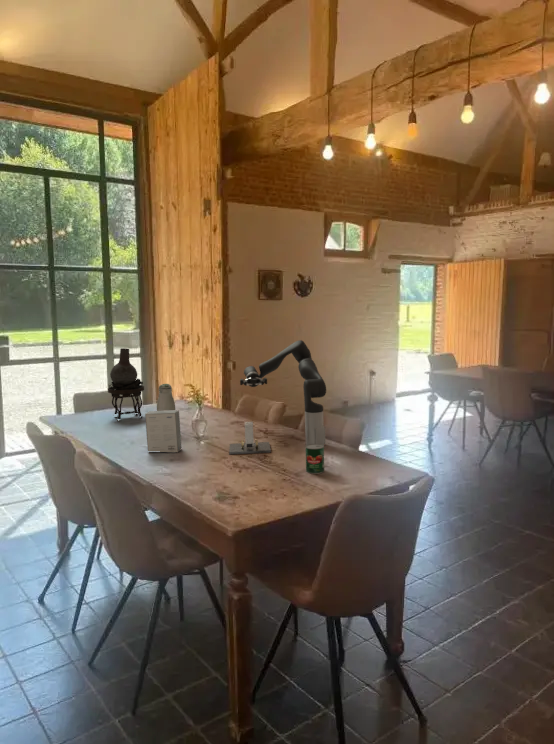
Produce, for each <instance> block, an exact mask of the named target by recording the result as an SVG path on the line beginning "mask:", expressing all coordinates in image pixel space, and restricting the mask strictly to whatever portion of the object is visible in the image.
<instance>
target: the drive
mask: <svg viewBox="0 0 554 744" xmlns="http://www.w3.org/2000/svg"><path fill="white" fill-rule="evenodd" d="M254 440H255V438H254V421H244V441H245V442H244V443H245V446H246V449H248V448H254V443H255V441H254Z"/></svg>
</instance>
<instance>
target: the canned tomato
mask: <svg viewBox="0 0 554 744" xmlns="http://www.w3.org/2000/svg"><path fill="white" fill-rule="evenodd" d="M305 472H306V473H307V474H309V475H310V474H311V475H318V474H323V473H324V472H325V445H322V444H309V445H306V444H305Z"/></svg>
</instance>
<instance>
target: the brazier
mask: <svg viewBox="0 0 554 744" xmlns="http://www.w3.org/2000/svg"><path fill="white" fill-rule="evenodd" d="M109 375H110V376H109V377H110V380H111V381H112V382H110V384H109V385H108V388H107V393H109V394H110V395H111V398H112V399H111V404H112V406H113V408H114V414H118V415H117V419H118V418H120V419H121V417H122V415H131V414H135V413H138V417H140V416H141V415H142V413H141V407H142V405H143V399H142V396H141V395H142V392H143V391H145V386H144V385H143V384H144V381H143V380H141V379H140V378H138V371H137V369H136V367H135V366H134V365H132V363H131V361H130V348H120V349H119V361H118V363H117V364H115V365H113V366H112V368H111V370H110V374H109ZM125 398H131V400H132V404H133V409H134V410H132V411H124V412H122V404H123V400H124V399H125ZM134 398H135V399H134ZM118 399H121V400H120V404H119V407H118V403H117V401H118ZM139 400H140V401H139ZM135 401H136V403H135Z"/></svg>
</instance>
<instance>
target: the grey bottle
mask: <svg viewBox="0 0 554 744" xmlns="http://www.w3.org/2000/svg"><path fill="white" fill-rule="evenodd" d="M175 403H176V402H175V400H174V397H173V388H172V385H171V384H170V383H161V384H160V385H159V386H158V397H157V402H156V411H171V410H176V404H175Z"/></svg>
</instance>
